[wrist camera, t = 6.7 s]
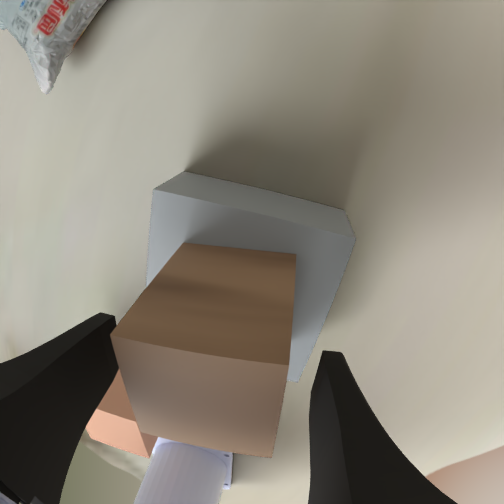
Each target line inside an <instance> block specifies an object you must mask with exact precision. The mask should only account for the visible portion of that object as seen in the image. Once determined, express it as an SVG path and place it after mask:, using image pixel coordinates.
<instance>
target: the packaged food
mask: <svg viewBox="0 0 504 504" xmlns="http://www.w3.org/2000/svg"><path fill="white" fill-rule="evenodd" d="M106 1H107V0H0V29H2V30H5V29H6V28H7V29H8V30H9V32H10V33H11V34H12V35H13V36H14V37H15V38H16V39H17V41H18V42H19V44H20V45H21V46H22V47H23V48H24V50H25V51H26V53H27V55H28V57H29V60H30V63H31V66H32V68H33V71H34V73H35V77H36V80H37V82H38V84H39V86H40V89H41V91H42V92H43V93H45V94H48V93H49V92H50V91H51V90H52V88H53V87H54V83H55V81H56V78H57V76H58V74H59V73H60V70H61V66H62V64H63V61H64V59H65V57H67V56H69V54H70V53H71V51H72V50H73V48H74V47H75V43H76V42H77V41H78V40H79V38H80V37H81V35H82V34H83V32H84V31H85V29H86V28H87V27H88V25H89V24H90V22H91V21H92V19H93V18H94V16H95V15H96V13H97V12H98V11H99V9H100V8H101V7H102V5H103V4H104V3H105V2H106Z"/></svg>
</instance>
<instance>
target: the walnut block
mask: <svg viewBox="0 0 504 504" xmlns="http://www.w3.org/2000/svg"><path fill="white" fill-rule="evenodd" d="M295 273H296V254H291V253H281V252H271V251H261V250H252V249H242V248H232V247H222V246H212V245H203V244H193V243H182V245H181V246H180V247H179V248H178V249H177V251H176V252H175V253H174V254H173V255H172V257H171V258H170V259H169V260H168V261H167V263H166V264H165V265H164V266H163V268H162V269H161V270H160V271H159V273H158V274H157V275H156V276H155V278H154V279H153V280H152V281H151V283H150V284H149V285H148V286H147V288H146V289H145V290H144V291H143V293H142V294H141V295H140V296H139V298H138V299H137V300H136V301H135V303H134V304H133V305H132V307H131V308H130V309H129V310H128V312H127V313H126V314H125V316H124V317H123V318H122V320H121V321H120V322H119V324H118V325H117V326H116V327H115V329H114V330H113V331H112V333H111V334H110V337H111V341H112V345H113V348H114V352H115V355H116V359H117V362H118V366H119V369H120V373H121V376H122V379H123V382H124V385H125V389H126V392H127V395H128V398H129V401H130V404H131V407H132V409H133V412H134V415H135V418H136V421H137V423H138V426H139V429H140V431H141V432H143V433H146V434H150V435H153V436H157V437H161V438H165V439H169V440H173V441H177V442H181V443H186V444H190V445H195V446H199V447H204V448H209V449H215V450H220V451H226V452H232V453H238V454H245V455H252V456H260V457H269V458H272V454H273V449H274V444H275V439H276V434H277V429H278V424H279V419H280V414H281V408H282V403H283V398H284V392H285V387H286V381H287V375H288V370H289V362H290V349H291V336H292V322H293V307H294V291H295Z"/></svg>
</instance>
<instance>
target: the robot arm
mask: <svg viewBox="0 0 504 504" xmlns="http://www.w3.org/2000/svg"><path fill="white" fill-rule="evenodd" d="M115 327H116V321H115V316H113V315H109V314H105V313H98V314H96V315H94V316H93V317H91V318H89V319H87V320H85V321H84V322H82V323H80V324H78V325H77V326H75V327H73V328H72V329H70V330H68V331H66V332H65V333H63V334H61V335H59V336H58V337H56V338H54V339H52V340H50V341H48V342H47V343H45V344H43V345H41V346H39V347H37V348H35V349H33V350H31V351H29V352H27V353H25V354H23V355H21V356H18V357H16V358H13V359H11V360H8V361H6V362H3V363H0V504H19V502H20V503H22V504H59V502H60V498H61V493H62V489H63V485H64V482H65V479H66V475H67V472H68V469H69V466H70V463H71V460H72V458H73V455H74V452H75V450H76V447H77V445H78V443H79V440H80V438H81V436H82V433H83V431H84V429H85V427H86V425H87V424H88V422H89V420H90V419H91V417H92V415H93V414H94V412H95V410H96V409H97V407H98V405H99V404H100V402H101V400H102V399H103V397H104V396H105V394H106V392H107V391H108V389H109V387H110V386H111V384H112V382H113V381H114V378H115V376H116V374H117V372H118V370H119V366H118V362H117V359H116V355H115V352H114V348H113V345H112V341H111V337H110V334H111V333H112V331H113V330H114V329H115ZM309 434H310V469H311V476H310V491H309V500H308V504H457V503H456V502H455V501H453V500H452V499H450V498H449V497H448V496H446V495H445V494H444V493H442V492H441V491H440V490H439V489H438V488H437V487H435V486H434V485H433V484H432V483H431V482H430V481H429V480H427V479H426V478H425V477H424V476H423V474H422V473H421V472H420V471H419V470H418V469H417V468H416V467H415V466H414V465H413V464H412V463H411V462H410V461H409V460H408V459H407V458H406V457H405V455H404V454H403V453H402V452H401V451H400V449H399V448H398V447H397V446H396V444H395V443H394V442H393V441H392V439H391V438H390V437H389V435H388V434H387V432H386V431H385V430H384V428H383V427H382V425H381V424H380V422H379V421H378V419H377V417H376V416H375V414H374V413H373V411H372V409H371V408H370V406H369V404H368V403H367V401H366V399H365V397H364V396H363V394H362V392H361V390H360V388H359V386H358V385H357V383H356V381H355V379H354V377H353V375H352V373H351V370H350V368H349V366H348V364H347V362H346V360H345V357H344V355H343V354H342V353H341V352H335V351H324V350H323V351H322V355H321V359H320V362H319V366H318V369H317V373H316V376H315V380H314V383H313V387H312V390H311V398H310V411H309ZM152 453H153V457H152V459H151V461H150V464H149V466H148V469H147V471H146V474H145V476H144V479H143V481H142V484H141V486H140V489H139V491H138V494H137V496H136V499H135V501H134V503H133V504H219V502H220V498H221V494H222V490H223V489H230V488H231V477H232V461H233V453H232V452H226V451H220V450H215V449H209V448H204V447H199V446H195V445H190V444H186V443H181V442H177V441H173V440H169V439H165V438H161V437H158V439H157V441H156V443H155V446H154V448H153V451H152Z"/></svg>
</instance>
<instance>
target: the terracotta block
mask: <svg viewBox="0 0 504 504" xmlns="http://www.w3.org/2000/svg"><path fill="white" fill-rule="evenodd" d="M86 429H87V431H88V433H89V435H90V437H91V438H92V439H94V440H97V441H100V442H102V443H105V444H108V445H110V446H113V447H116V448H119V449H122V450H124V451H127V452H130V453H133V454H137V455H140V456H143V457H146V458H150V456H151V453H152V451H153V448H154V446H155V443H156V441H157V439H158V437H157V436H153V435H150V434H146V433H143V432H141V431H140V429H139V426H138V423H137V421H136V418H135V415H134V412H133V409H132V407H131V404H130V401H129V398H128V395H127V392H126V389H125V385H124V382H123V379H122V376H121V373H120V369H119V370H118V372H117V374H116V376H115V378H114V381H113V382H112V384H111V386H110V387H109V389H108V391H107V392H106V394H105V396H104V397H103V399H102V400H101V402H100V404H99V405H98V407H97V409H96V410H95V412H94V414H93V415H92V417H91V419H90V420H89V422H88V424H87V425H86Z"/></svg>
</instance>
